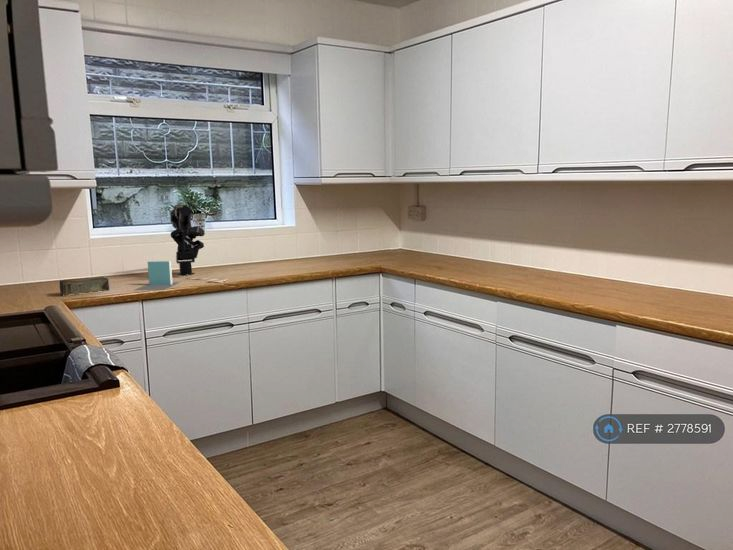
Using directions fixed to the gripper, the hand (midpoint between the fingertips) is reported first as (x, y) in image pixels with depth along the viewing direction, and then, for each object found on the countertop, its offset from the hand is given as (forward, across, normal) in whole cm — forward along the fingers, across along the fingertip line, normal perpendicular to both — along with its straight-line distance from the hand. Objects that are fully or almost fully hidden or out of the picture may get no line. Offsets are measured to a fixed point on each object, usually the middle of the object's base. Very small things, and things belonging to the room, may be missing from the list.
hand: (189, 254), depth 283 cm
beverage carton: (+16, -29, +36) cm, 49 cm away
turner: (+12, +8, -1) cm, 15 cm away
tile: (+14, -7, +13) cm, 20 cm away
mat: (+17, -10, +13) cm, 23 cm away
